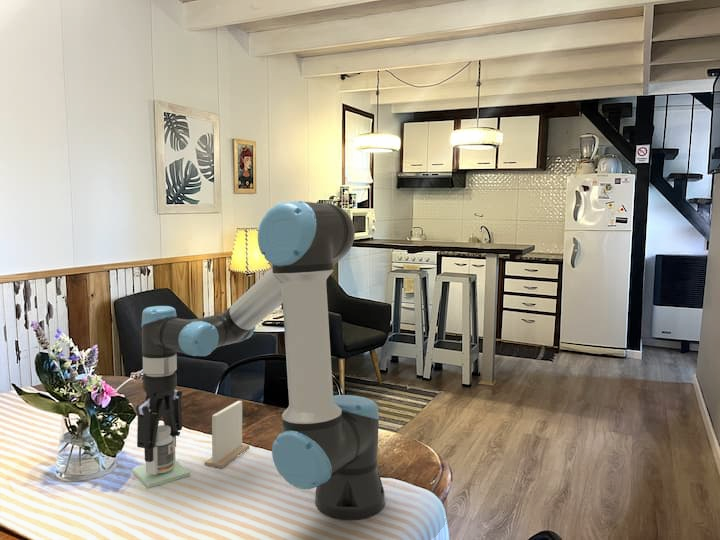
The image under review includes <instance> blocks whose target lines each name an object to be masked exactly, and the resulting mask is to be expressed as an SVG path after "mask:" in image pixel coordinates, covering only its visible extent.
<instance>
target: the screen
mask: <svg viewBox="0 0 720 540" xmlns="http://www.w3.org/2000/svg"><path fill="white" fill-rule="evenodd" d="M211 437H212V438H211V441H212V442H211V447H212V448H211V455H212V456H211V457H210V458H208V459H207V460H205V461H204V462H203V463H204V466H207V467H211V466H213V467H212V468H216V467H217V469H221V468H222V469H223V468H225V467H226V466H228V465H229V464H230V463H232V462H233V461H235V460H236V459H235V458H236V457H237V456H238V455H240V454H241V453H242V454H244V453H245V452H246V451H248V450H249V449H250V445H249V444H243V401H242V400H237V401H235V402H233V403H231V404H230V405H228V406H226V407H225V408H223V409H221V410H219V411H217V412H215V413H214V414H212V415H211ZM247 449H248V450H247ZM244 451H245V452H244ZM243 452H244V453H243ZM242 454H241V455H242ZM241 455H240V456H241ZM238 457H239V456H238ZM238 457H237V458H238ZM232 460H233V461H232ZM228 463H229V464H228Z"/></svg>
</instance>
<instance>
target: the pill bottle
mask: <svg viewBox="0 0 720 540" xmlns="http://www.w3.org/2000/svg"><path fill="white" fill-rule="evenodd" d="M170 433H171V428H170V426H167V425H164V424H162V425H161V424H160V425H159V424H158V430H157V435H156V441H155V446H156V447H157V456H158V473H164V472H167V471H169V470H171V469H172V468H173V466H174V456H173V438H172V436H171V435H170Z"/></svg>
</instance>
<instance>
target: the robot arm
mask: <svg viewBox="0 0 720 540" xmlns="http://www.w3.org/2000/svg"><path fill="white" fill-rule="evenodd" d="M355 232H356V231H355V225H354V221H353V220H352V217H351V216H350V215H349V213H348V212H347V211H345V209H343V208H342V207H340V206H338V205H336V204H332V203H325V202H322V203H321V202H320V203H319V202H312V201H302V200H298V201H297V200H294V201H284V202H280V203H277V204H275V205H274V206H272V207H271V208H270V209H269V210H267V212H266V213H265V215H264V216H263V217H262V219H261V221H260V224H259V227H258V231H257V243H258V248H259V251H260V253H261V255H263V257H264V259H265V260H266V261H267V262H269V263H270V264H271V268H270V269H269V270H268V271H266V273H265V274H264V275H263V276H262V277H261V278H260V279H258V281H256V282H255V283H254V284H253V285H252V286H250V288H249V289H248V290H247V291H245V292H244V293H243V294H242V295H241V296H240V297H238V299H237V300H235V302H233V303H232V305H230V306H229V307H228V308H227V309H226V310H224V312H222V313H220V314H213V315H209V316H203V317H197V318H193V319H186V318H179V317H178V315H177V311H176V308H174V307H173V306H170V305H155V306H148V307H145V308H144V309H143V311H142V314H141V325H140V328H141V346H142V347H141V352H142V372H143V374H142V390H143V391H144V392H145V398H144V403H142V404H141V405H140V404H138V405H136V406H135V411H136V414H137V425H136V426H137V427H136V428H137V431H136V432H137V434H136V437H137V438H136V446H137V448H139V449H144V461H145V465H146V473H148V474H153V475H156V474H158V456H157V447H156V446H155V441H156V435H157V430H158V426H159V423H160V419H161V418H162V421H163V425H167V426H170V428H171V433H170V435H171V436H172V438H173V456H174V463H175V460H176V448H177V437H179V436H180V435H181V431H182V429H183V421H182V420H183V419H182V418H183V417H182V416H183V415H182V395H183V391H182V390H177V389H176V388H177V387H178V385H177V384H178V383H177V381H178V380H177V379H178V376H177V375H178V374H177V372H176V371H177V369H178V365H177V363H178V362H177V359H178V358H177V353H180V354H184V355H188V356H192V357H207V356H208V355H211V354H212V352H214V351H215V350H216V349H217V348H219V347H224V346H226V345H227V346H228V345H231V344H238V343H241V342H243V341H245V340H247V339H249V338H250V339H251V337H252V336H253V335H254V332H255V330H256V327H257V325H258V324H260V323H261V322H262V321H263V320H264V319H266V318H267V317H268V316H269V315H270V314H271V313H273V312H274V311H275V310H276V309H277V308H279V306H281V305H282V312H283V313H282V314H283V328H284V329H283V330H284V344H285V345H284V346H285V357H286V374H287V375H286V376H287V389H288V407H287V408H286V409H285V410H284V411H283V413H282V415H281V418H282V419H281V421H282V423H281V424H282V432H280V433H279V434H278V435H277V436H276V439H274V441H273V443H272V447H271V457H272V462H273V463H274V464H273V465H274V466H275V469H276V471H277V472H278V473H279V475H280V476H281V477H283V479H284V481H285V482H287V484H289V485H290V486H292V487H294V488H297V489H299V490H312V489H315V493H314V494H315V495H314V497H315V498H314V502H315V503H314V504H315V506H316V507H317V509H318V510H319V511H320V512H321V513H323V514H325V515H327V516H329V517H333V518H336V519H341V520H359V519H366V518H368V517H372V516H374V515H376V514H378V513H379V512H380V511H381V510H382V509H383V508H384V506H385V496H386V495H385V489H384V486H383V483H382V479H381V476H380V472H379V469H378V454H379V453H378V452H379V425H380V424H379V421H380V417H379V406H378V404H377V403H376V402H375V401H374V400H372V399H370V398H368V397H364V396H358V395H350V394H349V395H347V394H337V395H334V388H333V385H334V384H333V372H332V371H333V370H332V357H331V356H332V355H331V340H330V324H329V322H330V321H329V307H328V293H327V288H328V287H327V280H328V278H329V276H331V274H332V273H333V272H334V266H335V265H336V264H337V263H339V261H340V260H342V259H343V258H344V257H345V256H346V255H347V254H348V252H349V251H350V249H352V246H353V245H354V244H353V243H354V241H355V235H356V234H355Z"/></svg>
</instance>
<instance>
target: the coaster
mask: <svg viewBox="0 0 720 540" xmlns="http://www.w3.org/2000/svg"><path fill="white" fill-rule="evenodd" d="M131 472H132V474H134V476H135V477H136V479H138V480H139V481H140V482H141V484H143V485H144V486H145V487H146V488H147V489H150V488H153V487H156V486H160V485H163V484H165V483H170V482H173V481H176V480H179V479H183V478H187V477H189V476H190V475H191V473H190V471H189V470H188V469H187V468H186V467H184V466H183V465H182V464H181V463H180V462H179V461H177V460H176V459H175V463H174V466H173V468H172V469H171V470H169V471H167V472H164V473H158V474H156V475H153V474H148V473H146V464H145V465H141V466H138V467H135V468H132V469H131Z"/></svg>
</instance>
